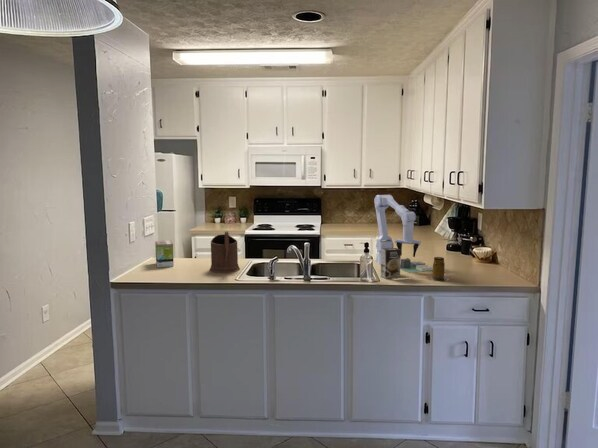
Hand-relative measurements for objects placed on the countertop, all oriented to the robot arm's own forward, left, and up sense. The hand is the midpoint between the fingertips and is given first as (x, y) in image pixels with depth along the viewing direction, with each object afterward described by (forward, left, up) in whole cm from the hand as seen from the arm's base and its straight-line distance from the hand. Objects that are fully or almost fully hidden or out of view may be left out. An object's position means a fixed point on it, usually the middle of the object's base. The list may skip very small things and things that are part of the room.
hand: (407, 256), depth 253 cm
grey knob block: (-10, +13, -10) cm, 19 cm away
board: (-4, +8, -10) cm, 13 cm away
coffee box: (+6, -14, -10) cm, 18 cm away
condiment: (+19, +9, -10) cm, 23 cm away
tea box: (-67, -134, -10) cm, 150 cm away
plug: (-8, +4, -9) cm, 13 cm away
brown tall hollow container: (-40, -100, -10) cm, 108 cm away
